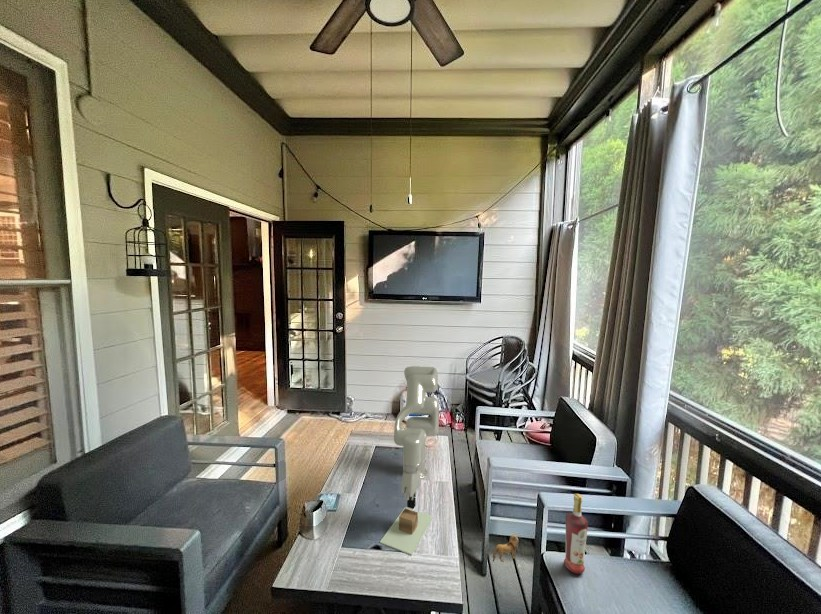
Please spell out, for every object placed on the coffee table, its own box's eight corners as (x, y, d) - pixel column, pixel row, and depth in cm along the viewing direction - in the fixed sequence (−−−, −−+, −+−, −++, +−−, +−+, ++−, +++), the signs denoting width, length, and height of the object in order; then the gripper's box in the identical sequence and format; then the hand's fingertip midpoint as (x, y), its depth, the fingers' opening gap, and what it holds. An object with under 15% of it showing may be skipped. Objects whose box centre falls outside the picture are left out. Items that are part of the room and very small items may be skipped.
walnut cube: (405, 507, 146) (399, 516, 140) (418, 511, 143) (412, 520, 138) (405, 520, 146) (399, 530, 141) (417, 525, 144) (412, 534, 138)
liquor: (573, 579, 119) (577, 504, 117) (558, 562, 126) (562, 491, 124) (589, 574, 121) (594, 500, 119) (574, 558, 128) (578, 488, 126)
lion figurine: (512, 547, 133) (513, 530, 132) (520, 555, 129) (521, 538, 129) (489, 558, 128) (489, 540, 127) (496, 567, 124) (497, 548, 123)
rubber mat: (405, 508, 155) (405, 507, 155) (433, 517, 149) (433, 516, 149) (379, 543, 134) (379, 541, 134) (411, 555, 129) (411, 554, 129)
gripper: (411, 455, 151) (410, 494, 152) (395, 472, 137) (395, 515, 139) (426, 459, 148) (426, 499, 149) (412, 477, 134) (411, 520, 136)
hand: (411, 506), depth 144 cm, fingers closed
